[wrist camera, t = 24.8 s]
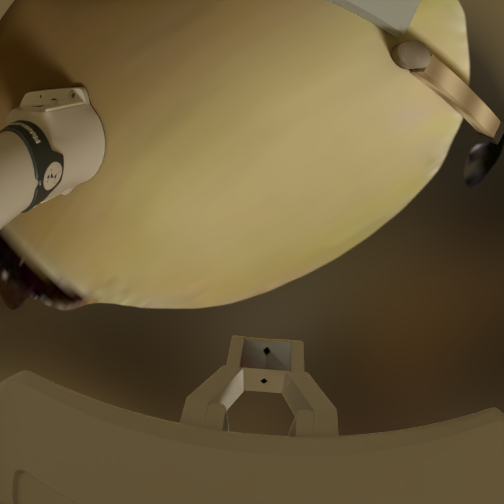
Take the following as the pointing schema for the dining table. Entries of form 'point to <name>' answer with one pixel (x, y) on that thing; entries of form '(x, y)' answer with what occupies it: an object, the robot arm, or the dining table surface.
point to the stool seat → (383, 13)
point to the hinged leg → (448, 88)
